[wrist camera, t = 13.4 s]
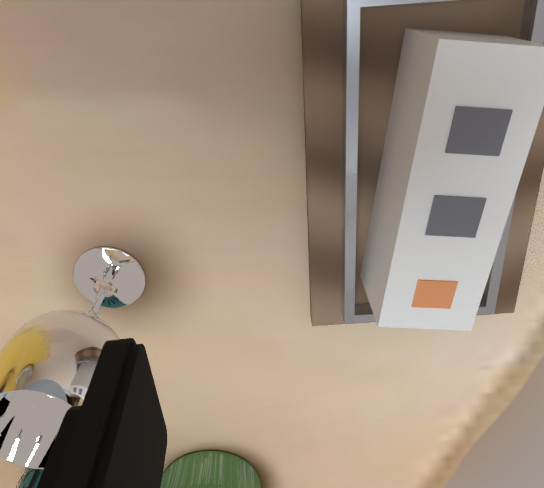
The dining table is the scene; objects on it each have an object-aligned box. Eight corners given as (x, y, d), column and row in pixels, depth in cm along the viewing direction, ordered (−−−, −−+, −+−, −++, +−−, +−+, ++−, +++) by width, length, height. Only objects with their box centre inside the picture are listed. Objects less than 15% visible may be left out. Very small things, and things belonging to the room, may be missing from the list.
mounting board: (299, -27, 24) (303, -28, 22) (574, -46, 23) (603, -49, 22) (310, 316, 33) (314, 337, 31) (507, 303, 33) (522, 323, 31)
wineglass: (174, 274, 31) (132, 426, 21) (122, 330, 33) (58, 495, 22) (95, 219, 29) (3, 354, 19) (44, 281, 31) (-65, 437, 21)
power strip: (405, 28, 24) (439, 39, 19) (506, 35, 24) (563, 48, 20) (360, 276, 30) (378, 327, 26) (440, 280, 31) (471, 331, 26)
